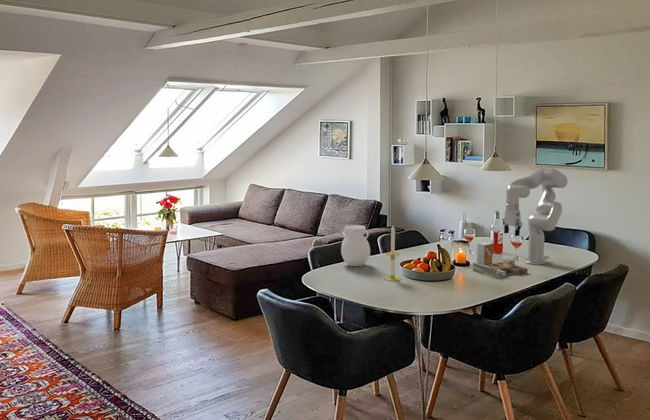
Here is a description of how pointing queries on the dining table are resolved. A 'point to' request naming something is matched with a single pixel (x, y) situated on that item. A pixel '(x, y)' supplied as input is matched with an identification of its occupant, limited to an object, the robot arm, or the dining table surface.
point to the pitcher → (355, 245)
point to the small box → (484, 253)
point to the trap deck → (499, 270)
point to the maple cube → (509, 262)
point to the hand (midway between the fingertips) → (511, 234)
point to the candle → (392, 257)
